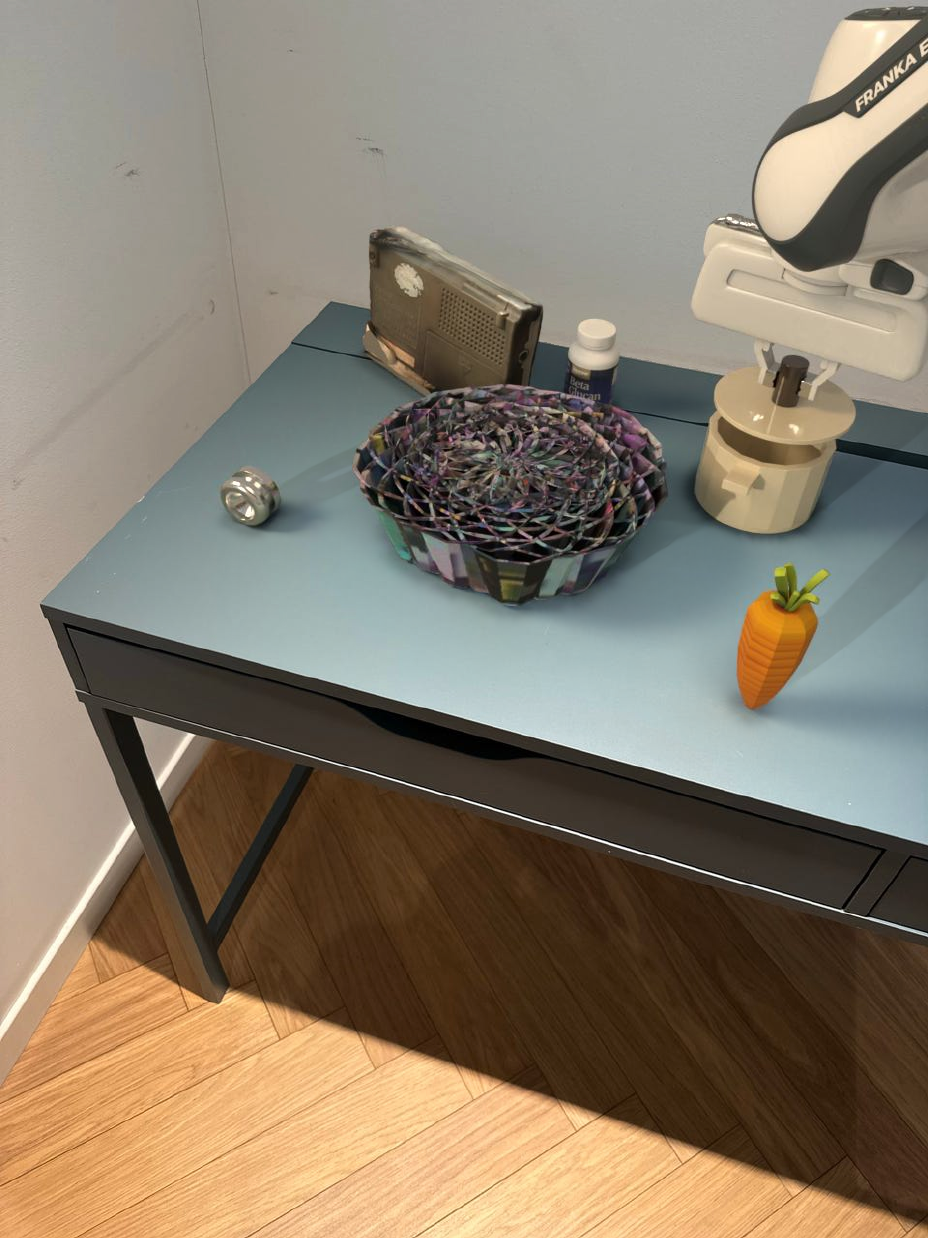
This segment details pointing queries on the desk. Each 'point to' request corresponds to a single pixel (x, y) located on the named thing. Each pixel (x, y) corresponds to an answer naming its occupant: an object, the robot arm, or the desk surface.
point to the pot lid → (784, 405)
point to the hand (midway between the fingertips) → (787, 390)
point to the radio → (445, 317)
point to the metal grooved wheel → (250, 495)
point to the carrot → (776, 636)
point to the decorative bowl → (512, 487)
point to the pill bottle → (593, 362)
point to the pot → (759, 479)
